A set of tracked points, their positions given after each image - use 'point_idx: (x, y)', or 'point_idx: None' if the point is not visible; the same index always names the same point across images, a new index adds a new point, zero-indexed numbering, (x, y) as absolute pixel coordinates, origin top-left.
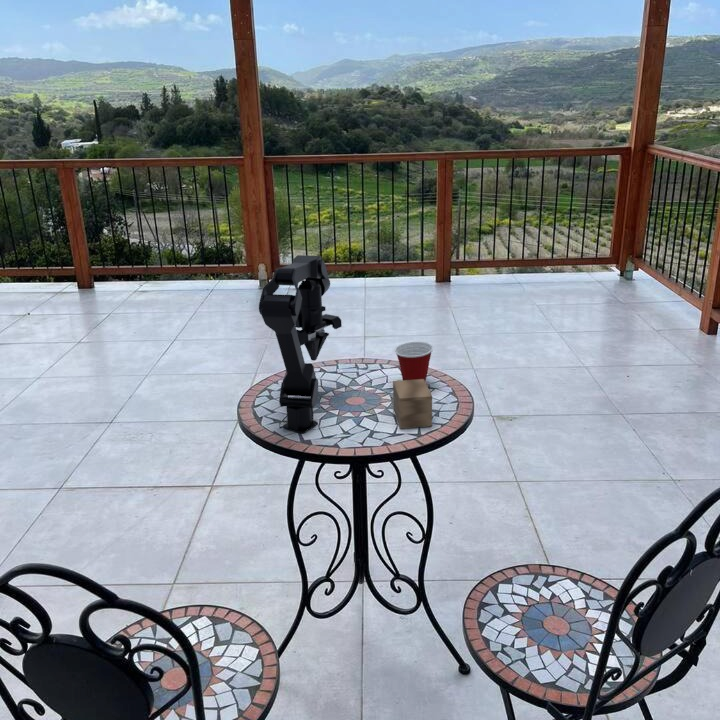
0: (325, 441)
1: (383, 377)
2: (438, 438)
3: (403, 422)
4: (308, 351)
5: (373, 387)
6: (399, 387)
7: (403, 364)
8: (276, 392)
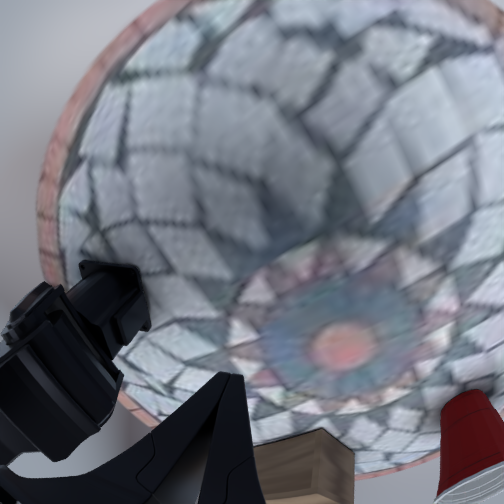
0: (117, 365)
1: None
2: None
3: None
4: (166, 425)
5: (452, 342)
6: (285, 501)
7: (450, 465)
8: (259, 38)
